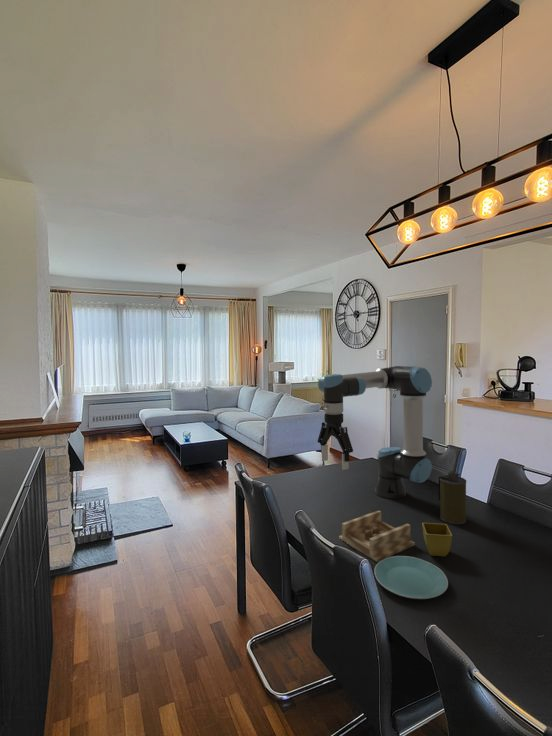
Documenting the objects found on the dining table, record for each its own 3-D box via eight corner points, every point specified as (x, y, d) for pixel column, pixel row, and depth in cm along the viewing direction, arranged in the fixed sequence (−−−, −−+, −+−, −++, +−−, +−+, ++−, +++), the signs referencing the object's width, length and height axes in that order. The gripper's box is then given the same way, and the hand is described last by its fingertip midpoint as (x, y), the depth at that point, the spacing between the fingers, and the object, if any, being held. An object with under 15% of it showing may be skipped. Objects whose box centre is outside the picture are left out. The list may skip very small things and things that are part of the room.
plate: (441, 616, 108) (441, 606, 108) (364, 591, 120) (364, 582, 120) (453, 575, 127) (453, 566, 127) (385, 557, 139) (385, 549, 139)
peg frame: (375, 524, 163) (374, 508, 162) (414, 545, 146) (414, 527, 146) (338, 538, 152) (338, 521, 152) (377, 562, 135) (376, 542, 135)
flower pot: (452, 560, 135) (452, 535, 134) (426, 558, 137) (426, 533, 136) (446, 547, 144) (446, 523, 143) (422, 545, 145) (421, 522, 145)
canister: (469, 518, 167) (469, 472, 165) (461, 526, 159) (461, 479, 158) (443, 511, 174) (443, 467, 173) (435, 519, 166) (434, 473, 165)
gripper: (308, 409, 165) (309, 458, 166) (346, 418, 143) (347, 475, 144) (323, 407, 169) (324, 455, 170) (361, 416, 147) (362, 471, 148)
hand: (334, 464), depth 157 cm, fingers open, 13 cm apart
